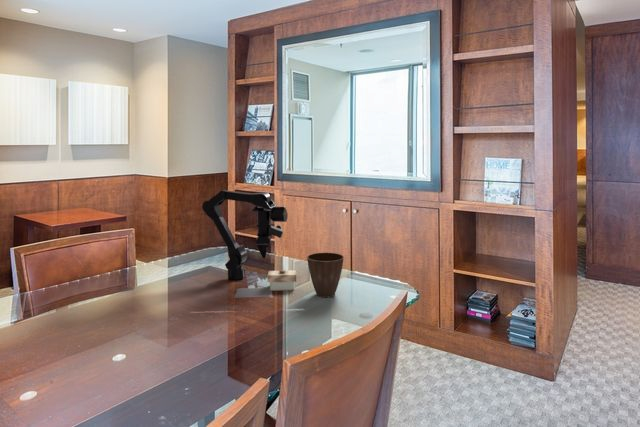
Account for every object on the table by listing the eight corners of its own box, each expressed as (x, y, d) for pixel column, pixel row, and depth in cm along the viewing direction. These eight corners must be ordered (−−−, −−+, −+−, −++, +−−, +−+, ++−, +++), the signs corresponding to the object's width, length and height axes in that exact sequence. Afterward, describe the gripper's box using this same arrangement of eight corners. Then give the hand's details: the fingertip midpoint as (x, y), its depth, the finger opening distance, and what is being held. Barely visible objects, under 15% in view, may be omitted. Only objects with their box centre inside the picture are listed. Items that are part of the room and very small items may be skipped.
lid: (267, 282, 200) (267, 273, 199) (268, 277, 207) (268, 269, 206) (296, 281, 200) (296, 273, 200) (296, 277, 207) (296, 268, 206)
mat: (234, 299, 191) (234, 297, 191) (238, 289, 203) (237, 288, 203) (269, 298, 192) (269, 296, 192) (270, 289, 204) (270, 287, 204)
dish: (270, 291, 200) (270, 282, 199) (271, 286, 208) (271, 277, 207) (294, 291, 200) (294, 282, 200) (294, 285, 208) (294, 276, 207)
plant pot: (309, 288, 204) (309, 252, 201) (344, 289, 202) (344, 252, 200) (305, 300, 189) (304, 260, 187) (342, 300, 188) (342, 261, 185)
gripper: (281, 224, 201) (282, 260, 204) (282, 217, 220) (283, 250, 222) (254, 225, 201) (256, 261, 203) (258, 218, 219) (259, 251, 222)
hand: (264, 255), depth 213 cm, fingers open, 9 cm apart
